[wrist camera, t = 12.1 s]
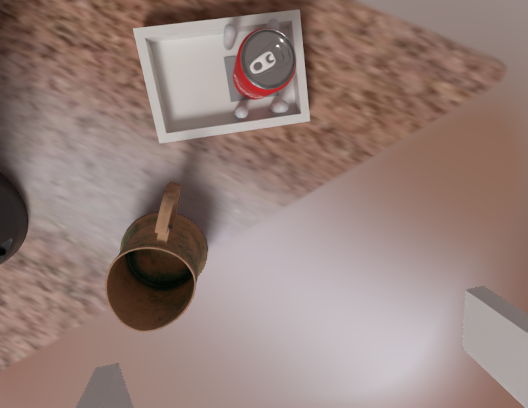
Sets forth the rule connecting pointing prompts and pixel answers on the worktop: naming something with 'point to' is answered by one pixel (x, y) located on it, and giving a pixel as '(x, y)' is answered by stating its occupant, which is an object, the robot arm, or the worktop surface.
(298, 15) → the tray
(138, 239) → the mug
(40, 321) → the worktop surface
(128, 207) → the worktop surface
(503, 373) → the robot arm
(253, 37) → the beverage can
